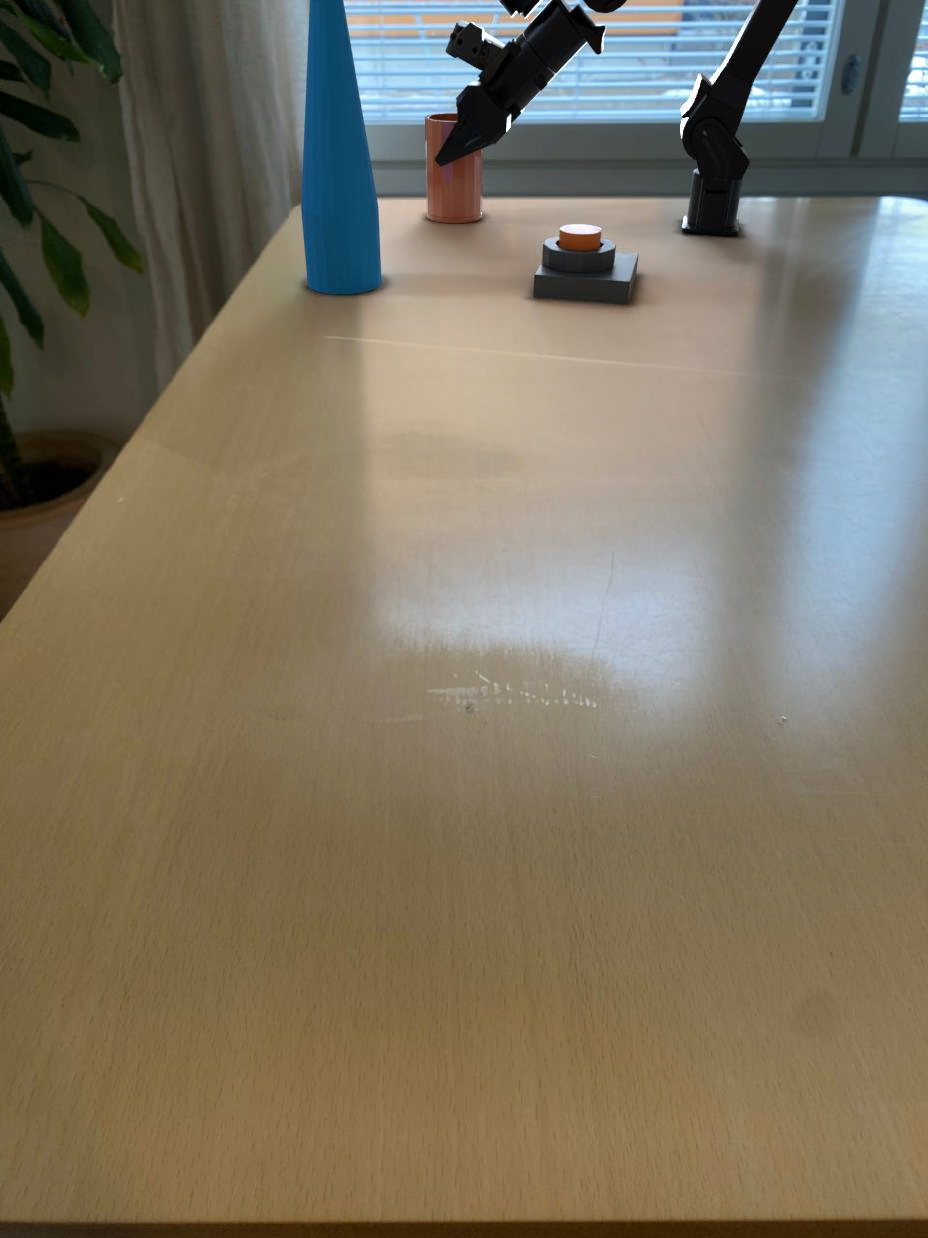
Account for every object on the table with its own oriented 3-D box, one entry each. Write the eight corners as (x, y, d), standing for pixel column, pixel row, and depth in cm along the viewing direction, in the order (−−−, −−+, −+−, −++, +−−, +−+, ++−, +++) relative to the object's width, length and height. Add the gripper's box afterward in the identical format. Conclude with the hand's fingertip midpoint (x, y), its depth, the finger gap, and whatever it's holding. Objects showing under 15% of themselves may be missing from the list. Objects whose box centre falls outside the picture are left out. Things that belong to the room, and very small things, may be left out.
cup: (434, 208, 120) (433, 111, 114) (486, 211, 119) (488, 113, 112) (420, 221, 115) (418, 119, 108) (475, 224, 113) (476, 122, 107)
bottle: (370, 296, 90) (352, -104, 73) (297, 291, 91) (262, -105, 74) (389, 275, 96) (376, -100, 79) (320, 271, 97) (292, -100, 80)
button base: (549, 269, 98) (551, 228, 96) (636, 275, 97) (640, 234, 94) (533, 297, 90) (535, 254, 88) (627, 305, 89) (632, 261, 86)
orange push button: (561, 241, 94) (563, 222, 92) (602, 244, 93) (603, 225, 92) (555, 251, 90) (556, 232, 89) (597, 254, 90) (599, 235, 89)
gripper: (501, -13, 110) (411, 92, 118) (477, -6, 95) (376, 113, 103) (564, 67, 114) (472, 163, 122) (550, 86, 99) (447, 194, 107)
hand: (443, 157), depth 113 cm, fingers closed on cup, 7 cm apart
